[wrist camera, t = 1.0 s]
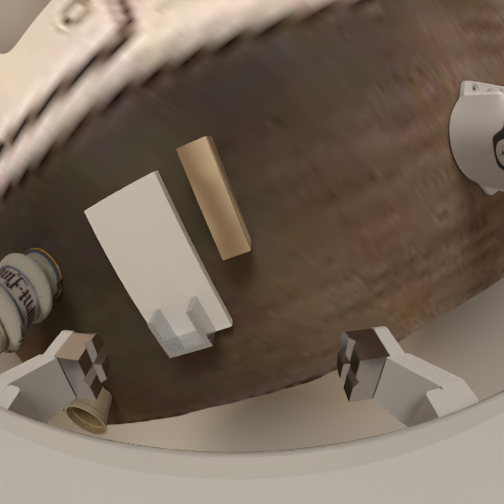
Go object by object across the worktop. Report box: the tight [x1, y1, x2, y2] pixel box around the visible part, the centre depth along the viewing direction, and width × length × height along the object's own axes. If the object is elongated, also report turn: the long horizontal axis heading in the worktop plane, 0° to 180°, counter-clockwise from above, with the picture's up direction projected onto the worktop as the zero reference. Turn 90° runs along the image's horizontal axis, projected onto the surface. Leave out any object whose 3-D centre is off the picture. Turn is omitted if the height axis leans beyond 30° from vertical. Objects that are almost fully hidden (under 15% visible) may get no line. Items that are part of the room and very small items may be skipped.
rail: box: [176, 136, 251, 260], centre depth 35 cm, size 4×14×5 cm, turn 20°
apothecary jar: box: [0, 248, 62, 354], centre depth 33 cm, size 12×12×18 cm
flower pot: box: [65, 386, 112, 435], centre depth 47 cm, size 9×9×9 cm
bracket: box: [84, 170, 233, 358], centre depth 38 cm, size 12×24×6 cm, turn 22°
